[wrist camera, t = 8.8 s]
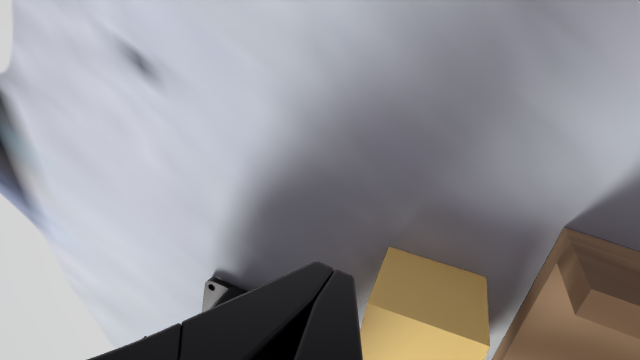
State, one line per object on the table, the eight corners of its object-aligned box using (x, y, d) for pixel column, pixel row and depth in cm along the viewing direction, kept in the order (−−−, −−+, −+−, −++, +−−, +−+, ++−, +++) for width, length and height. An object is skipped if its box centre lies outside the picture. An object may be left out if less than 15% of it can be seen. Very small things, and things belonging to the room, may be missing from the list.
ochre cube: (458, 349, 22) (454, 429, 18) (370, 318, 23) (347, 385, 19) (486, 276, 20) (489, 346, 16) (389, 246, 21) (367, 303, 17)
